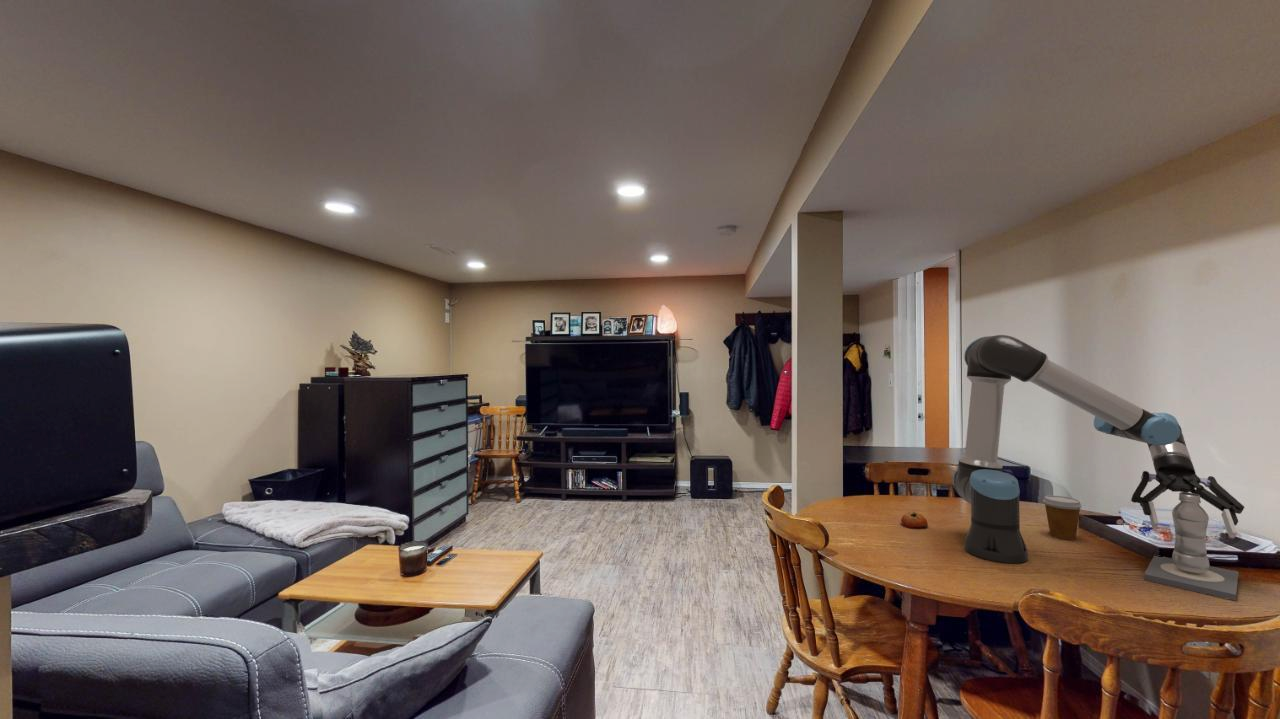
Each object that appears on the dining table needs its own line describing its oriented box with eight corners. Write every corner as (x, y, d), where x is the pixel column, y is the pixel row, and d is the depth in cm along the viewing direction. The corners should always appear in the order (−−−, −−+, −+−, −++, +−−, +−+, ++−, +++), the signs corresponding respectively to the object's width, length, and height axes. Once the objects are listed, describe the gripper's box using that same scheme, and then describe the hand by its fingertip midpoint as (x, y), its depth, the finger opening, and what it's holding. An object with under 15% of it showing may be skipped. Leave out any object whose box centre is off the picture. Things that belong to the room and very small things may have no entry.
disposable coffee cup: (1091, 541, 154) (1090, 502, 154) (1060, 541, 154) (1059, 503, 154) (1065, 531, 163) (1064, 495, 164) (1036, 531, 164) (1035, 495, 164)
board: (1235, 601, 115) (1235, 593, 115) (1144, 579, 127) (1144, 573, 127) (1238, 577, 127) (1238, 571, 127) (1154, 560, 139) (1154, 554, 139)
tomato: (894, 521, 171) (903, 504, 173) (900, 530, 175) (909, 513, 177) (918, 530, 165) (927, 512, 167) (923, 540, 168) (932, 522, 170)
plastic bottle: (1199, 569, 129) (1198, 492, 129) (1216, 579, 123) (1215, 498, 123) (1166, 564, 131) (1165, 489, 132) (1181, 574, 125) (1180, 496, 125)
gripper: (1234, 474, 133) (1263, 547, 121) (1109, 464, 147) (1123, 529, 134) (1243, 457, 129) (1274, 531, 116) (1113, 449, 143) (1128, 514, 130)
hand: (1193, 530), depth 125 cm, fingers open, 13 cm apart
